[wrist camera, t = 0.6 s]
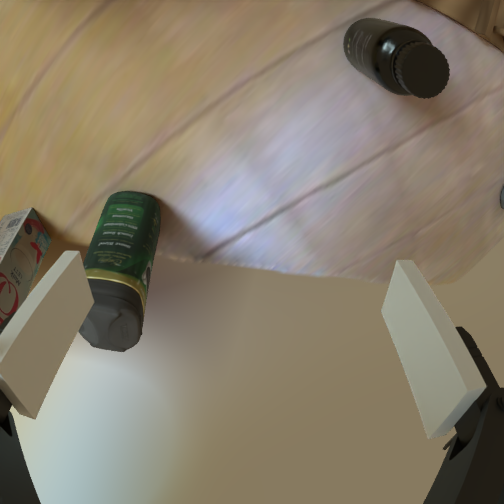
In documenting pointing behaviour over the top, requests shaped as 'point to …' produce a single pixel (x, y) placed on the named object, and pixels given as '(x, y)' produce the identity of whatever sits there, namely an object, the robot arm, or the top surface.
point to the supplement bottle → (396, 57)
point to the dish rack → (475, 16)
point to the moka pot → (502, 199)
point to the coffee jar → (120, 270)
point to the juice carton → (19, 257)
